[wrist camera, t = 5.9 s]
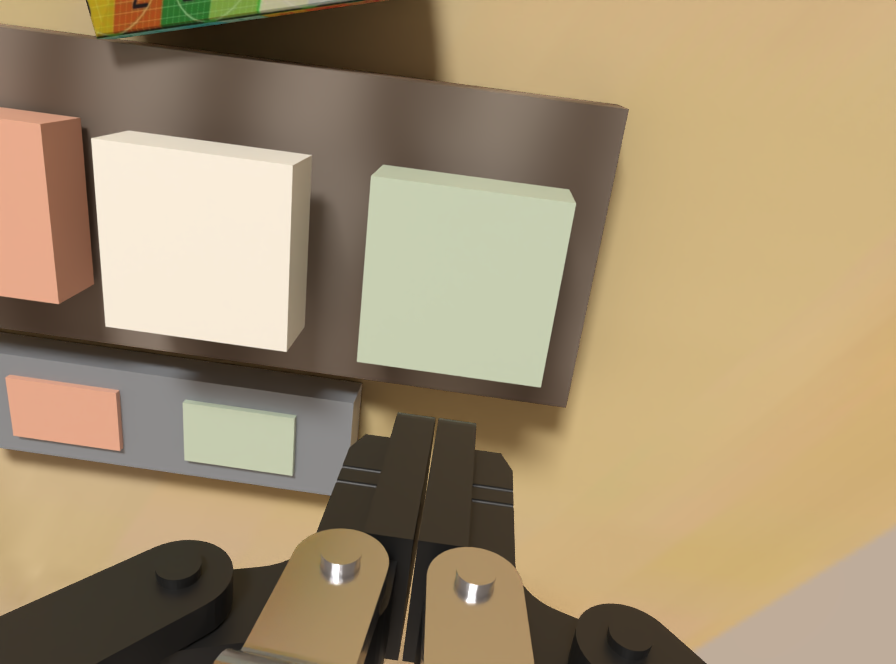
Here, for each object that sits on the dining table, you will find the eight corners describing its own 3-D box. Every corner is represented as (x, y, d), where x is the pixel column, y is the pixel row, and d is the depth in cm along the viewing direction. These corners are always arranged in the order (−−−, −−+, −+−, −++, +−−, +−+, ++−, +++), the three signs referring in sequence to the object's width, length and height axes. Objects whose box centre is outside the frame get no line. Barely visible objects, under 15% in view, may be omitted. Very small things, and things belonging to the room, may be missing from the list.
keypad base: (617, 104, 27) (628, 109, 24) (560, 381, 31) (565, 407, 29) (-90, 12, 27) (-145, 7, 25) (-43, 296, 32) (-86, 315, 29)
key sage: (569, 189, 24) (576, 203, 21) (537, 359, 26) (540, 387, 24) (383, 164, 24) (371, 176, 22) (369, 335, 26) (356, 361, 24)
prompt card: (362, 383, 32) (352, 406, 30) (354, 473, 34) (345, 501, 32) (-17, 329, 32) (-54, 349, 30) (-3, 422, 34) (-37, 446, 32)
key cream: (312, 154, 24) (292, 165, 22) (304, 327, 26) (286, 351, 24) (128, 130, 24) (91, 138, 22) (138, 303, 27) (105, 326, 24)
